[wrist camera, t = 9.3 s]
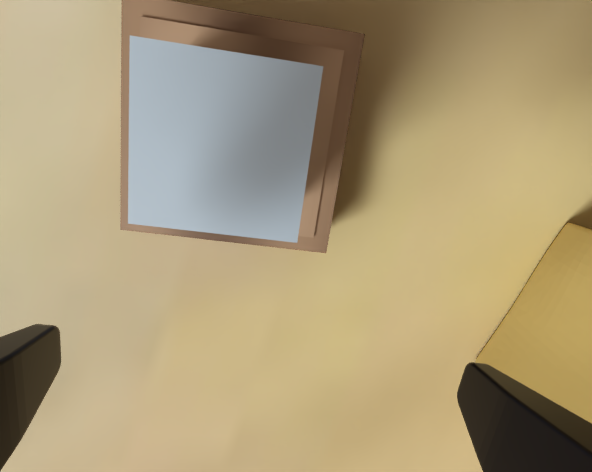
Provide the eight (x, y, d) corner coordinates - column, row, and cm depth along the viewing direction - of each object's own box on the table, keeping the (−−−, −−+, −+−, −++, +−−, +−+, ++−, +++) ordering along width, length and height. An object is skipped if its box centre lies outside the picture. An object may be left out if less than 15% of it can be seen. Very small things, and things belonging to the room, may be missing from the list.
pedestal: (349, 46, 18) (365, 33, 15) (318, 233, 20) (326, 254, 17) (147, 12, 17) (120, -10, 14) (142, 212, 19) (119, 230, 16)
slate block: (307, 80, 15) (323, 66, 10) (290, 204, 16) (297, 242, 12) (176, 60, 15) (129, 35, 10) (171, 190, 16) (127, 223, 11)
